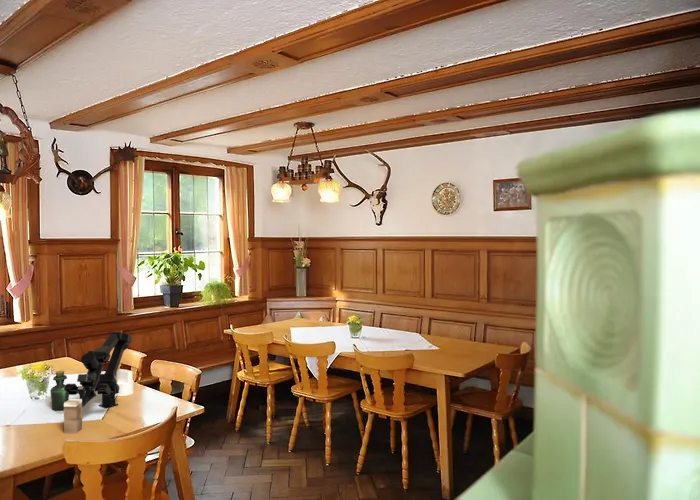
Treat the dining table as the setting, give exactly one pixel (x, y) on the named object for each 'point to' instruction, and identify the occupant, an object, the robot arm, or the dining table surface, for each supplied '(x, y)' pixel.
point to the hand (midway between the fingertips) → (81, 407)
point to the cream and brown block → (72, 416)
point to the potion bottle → (59, 392)
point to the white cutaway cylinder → (125, 382)
